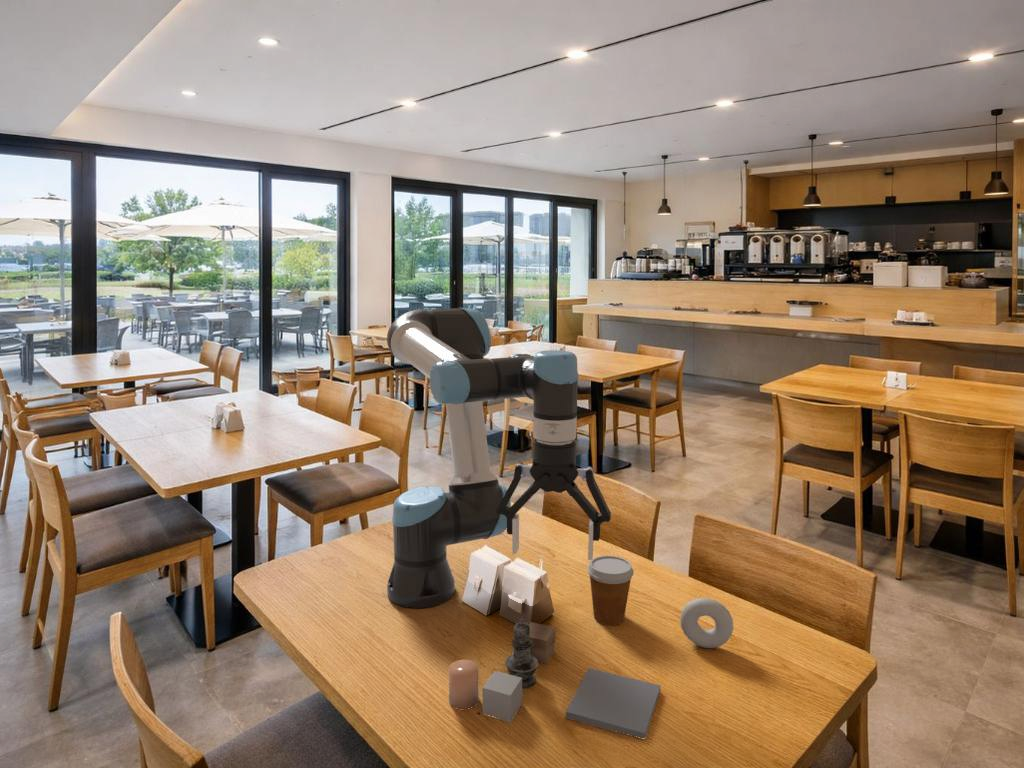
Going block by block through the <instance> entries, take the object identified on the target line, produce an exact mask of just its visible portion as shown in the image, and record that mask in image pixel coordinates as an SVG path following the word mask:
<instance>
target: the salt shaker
mask: <svg viewBox="0 0 1024 768" xmlns="http://www.w3.org/2000/svg"><path fill="white" fill-rule="evenodd" d="M511 645H512V646H513V647H512V648H513V649H512V650H513V651H512V653H511V654H510V655H508V656H507V657H506V659H505V662H504V665H505V667H506V669H507V671H508V674H510V675H513V676H517V677H521V678H522V690H528V689H530V688H533V687H534V686H535V685H536V683H537V678H536V675H535V673H536V670H537V668H538V666H539V663H538V660H537V658H536V657H535V656H533V655H531V654H530V646H531V645H532V641H531V640H530V626H529V624H528V623H527V622H525V621H524V619H523V618H520V620H519V621H518V622H516V623H515V624H514V625H513V639H512V641H511Z"/></svg>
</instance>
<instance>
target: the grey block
mask: <svg viewBox="0 0 1024 768" xmlns="http://www.w3.org/2000/svg"><path fill="white" fill-rule="evenodd" d="M481 689H482V715H483V714H486V715H490V716H494V717H496V718H495V719H497V718H499V719H498V720H500V719H501V720H500V721H503V720H505V722H507V721H508V722H507V723H511V722H512V721H513V719H514V718H513V717H515V716H516V715H517V713H518V711H519V710H518V709H520V708H521V706H522V705H521V704H523V689H522V678H521V677H517V676H513V675H510V674H509V673H506V672H505V673H504V672H501V671H497V670H494V671H493V673H491V675H490V677H489V678H488V679H487V680H486V682H485V683H484V685H483V686H482V688H481ZM516 712H517V713H516ZM486 715H485V716H486ZM490 716H489V717H490Z"/></svg>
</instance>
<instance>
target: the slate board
mask: <svg viewBox="0 0 1024 768" xmlns="http://www.w3.org/2000/svg"><path fill="white" fill-rule="evenodd" d="M660 694H661V685H660V684H657V683H654V682H653V683H652V682H649V681H644V680H641V679H637V678H631V677H627V676H625V675H620V674H616V673H612V672H607V671H604V670H600V669H595V668H591V667H588V668H587V670H586V672H585V673H584V676H583V678H582V680H581V681H580V684H579V685H578V687H577V690H576V691H575V693H574V695H573V697H572V700H571V701H570V703H569V705H568V707H567V708H566V711H565V719H569V720H571V721H574V722H577V723H578V722H579V723H581V724H582V723H583V724H586V725H590V726H592V727H597V728H599V729H600V728H601V729H603V728H604V729H603V730H607V729H608V730H607V731H610V730H613V731H612V732H614V731H617V732H616V733H618V732H620V733H619V734H621V733H624V734H623V735H625V734H629V735H632V736H635V737H634V738H636V736H637V737H640V738H645V737H647V735H648V732H647V730H648V731H649V729H648V727H649V728H650V726H649V724H650V725H651V722H652V719H653V716H652V715H654V713H653V712H654V711H655V710H656V707H655V706H657V704H658V700H659V696H660ZM654 709H655V710H654ZM651 718H652V719H651ZM650 721H651V722H650ZM646 734H647V735H646ZM632 736H631V737H632ZM645 739H646V738H645Z"/></svg>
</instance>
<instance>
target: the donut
mask: <svg viewBox="0 0 1024 768" xmlns="http://www.w3.org/2000/svg"><path fill="white" fill-rule="evenodd" d="M730 612H731V611H729V610H728V609H727V607H726V606H725V605H724V604H722V603H721V602H720V601H717V600H716V599H713V598H709V597H697V598H693V599H692V600H690V601H688V603H686V604H685V605H684V607H683V608H682V610H681V612H680V617H679V620H680V627H681V629H682V631H683V634H684V635H685V636H686V638H687V639H688V640H689V641H690V642H692V643H693V644H695V645H697V646H699V647H701V648H704V649H706V648H707V649H714V648H718V647H722V646H723V645H725V644H726V643H727V642H728V641H729V640H730V639H731V637H732V636H733V632H734V631H733V630H734V628H735V627H734V619H733V617H732V615H731V613H730ZM703 616H705V617H706V616H707V617H709V618H711V619H712V620H713V621H714V623H715V625H714V627H713V628H711V629H704V628H703V627H701V625H699V619H700V618H702V617H703Z"/></svg>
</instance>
